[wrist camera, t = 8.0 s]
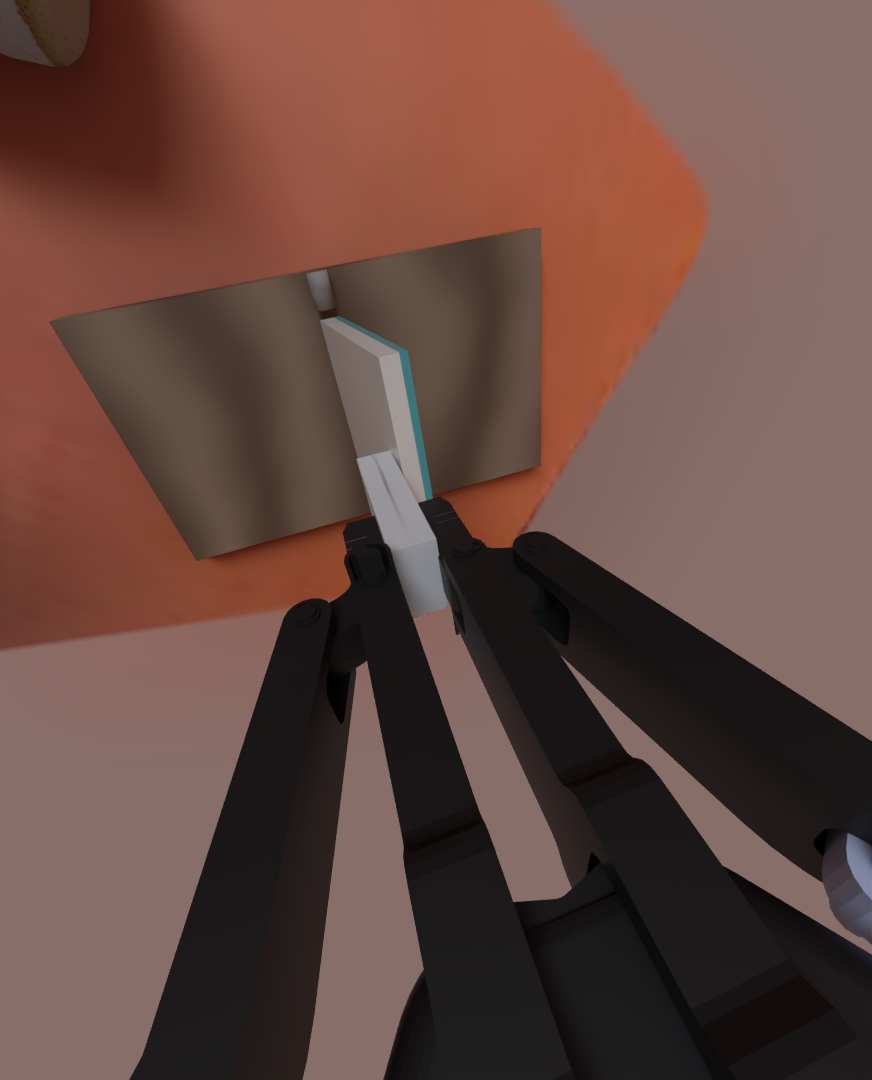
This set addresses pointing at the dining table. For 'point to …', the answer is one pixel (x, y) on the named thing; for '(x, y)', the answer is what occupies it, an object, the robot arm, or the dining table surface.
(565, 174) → the dining table surface
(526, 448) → the hinge board
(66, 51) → the ceramic mug
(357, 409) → the tile
